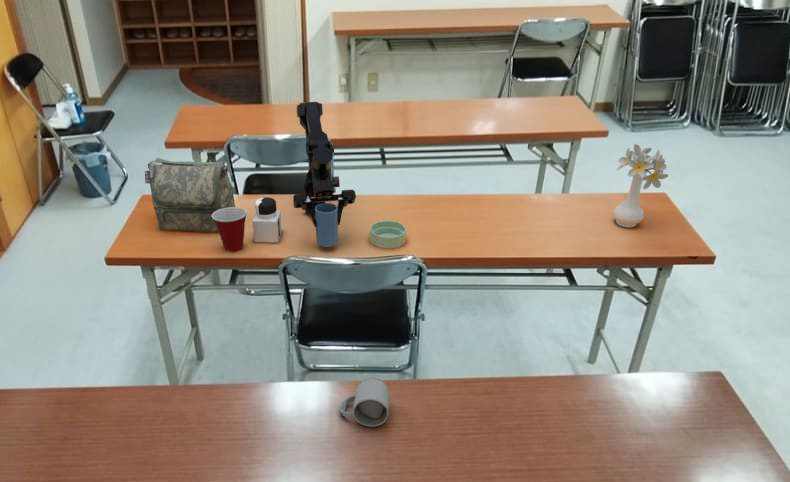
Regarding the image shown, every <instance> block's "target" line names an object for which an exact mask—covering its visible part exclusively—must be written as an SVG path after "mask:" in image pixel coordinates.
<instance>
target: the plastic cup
mask: <svg viewBox="0 0 790 482" xmlns="http://www.w3.org/2000/svg"><path fill="white" fill-rule="evenodd" d="M247 215H248V211H247V209H245V208H243V207H240V206H239V207H238V206H235V207H229V208H223V209H220V210H217V211H215V212H214V213H213V214H212V218H213V219H214V221H215V223H216V226H217V228H218V231H217V232H218V234H219V237H220V241H221V243H222V246H223V248H224V250H225V251H226V252H231V253H233V252H238V251H240V250H242V249H243V246H244V238H245V227H246V217H247Z"/></svg>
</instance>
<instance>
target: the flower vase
mask: <svg viewBox="0 0 790 482" xmlns="http://www.w3.org/2000/svg"><path fill="white" fill-rule="evenodd" d="M651 151H652V148H651V147H645V148H643V149H642V148H641V146H640V145H639V144H637V143H635V144H634V145H633V150H630V148H629V147H628V148H627V149H626V151H625V156H622V157H619V159H618V161H617V162H618V163H619V166H618V167H617V168H616V171H619V170H621V169H622V168H624V167H626V166H629V167H630V168H631V169H630V170H629V171H628V173H627V176H628V177H630V178H631V177H632V181H631V184H630V187H629V191H628V194H627V196H626V198H625V199H624V200H623V201H622V202H621V203H619V204H618V205H616V207H615V208H614V209H613V212H612V215H613V218H614V219H615V222H616V224H617V225H618V226H620V227H623V228H629V229H630V228H634V227H636V226H637V225H638V224H639V223H641V222H642V221H643V220H644V218H645V211H644V210H643V207H642V206H641V205H640V193H641V189H642V188H643V190H647V189H649V187H650V186H653V187H654V188H656V189H659V188H661V186H662V183H661V181H660V180H665V179H667V178H668V177H669V174H667V173H664V171H665V170H667V164H666V162H665V161H666V159H665V158H664V157H663V154H661V152H660V149H657V151H656V153H655V154H653V156H650V155H648V154H649V153H650V152H651ZM650 170H652V171H653V172H651V171H650ZM647 173H648V175H647ZM643 181H645V183H644V184H643ZM642 184H643V187H642Z"/></svg>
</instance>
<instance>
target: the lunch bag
mask: <svg viewBox="0 0 790 482" xmlns="http://www.w3.org/2000/svg"><path fill="white" fill-rule="evenodd" d="M147 168H148V170H145V171H144V184H149V186H150V194H151V201H152V205H153V209H154V213H155V217H156V221H157V224H158V225H157V226H158V228H159V230H163V231H178V232H206V233H207V232H209V233H210V232H215V233H216V232H219V231H218V228H217V226H216V223H215V221H214V219H213V218H212V214H213V213H214V212H215V211H217V210H220V209H223V208H229V207H236V203H235V195H234V189H233V184H232V183H231V179H230V177H229V173H228V169H227V168H228V165H225V162H224V161H210V162H209V161H207V162H204V161H203V162H202V161H201V162H200V161H190V160H189V161H181V160H180V161H172V160H167V159H163V158H160V157H157V158H156V159H154V160H151V161H150V162H148V163H147Z"/></svg>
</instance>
